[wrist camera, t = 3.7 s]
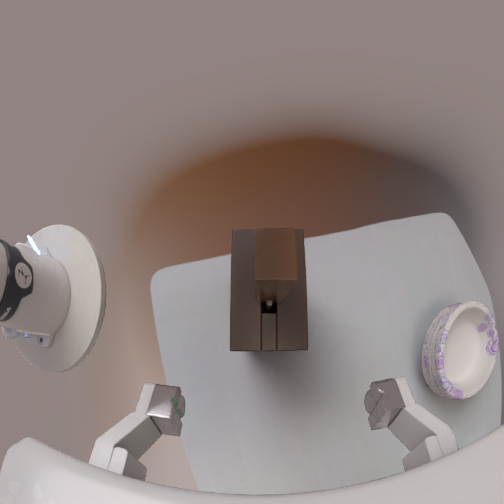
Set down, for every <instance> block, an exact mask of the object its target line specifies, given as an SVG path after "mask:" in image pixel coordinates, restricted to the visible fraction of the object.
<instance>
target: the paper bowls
mask: <svg viewBox="0 0 504 504" xmlns="http://www.w3.org/2000/svg"><path fill="white" fill-rule="evenodd" d="M497 353H498V333H497V327H496V323H495V320H494V318H493V316H492V314H491V312H490V311H489V310H488V309H487V308H486V307H485V306H484V305H483V304H481V303H479V302H476V301H468V302H464V303H459V304H456V305H452V306H449V307H447V308H445V309H443V310H442V311H441V312H440V313H439V314H438V315H437V316H436V317H435V319H434V320H433V321H432V323H431V325H430V326H429V328H428V331H427V334H426V337H425V340H424V343H423V348H422V371H423V376H424V379H425V381H426V383H427V385H428V386H429V388H430V389H431V390H432V391H433V392H434V393H436V394H437V395H440V396H444V397H448V398H453V399H458V400H462V399H467V398H469V397H471V396H473V395H475V394H476V393H477V392H479V391H480V390H481V389H482V387H483V386H484V385H485V384H486V382H487V381H488V379H489V377H490V375H491V373H492V371H493V368H494V365H495V362H496V358H497Z"/></svg>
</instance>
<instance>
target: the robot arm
mask: <svg viewBox="0 0 504 504" xmlns="http://www.w3.org/2000/svg"><path fill="white" fill-rule="evenodd" d="M27 237H28V239H29V241H30V243H31V244H32V246H33V247H30V246H27V245H25V244H22V243H17V244H16V245H14V246H13V245H11V243H9V242H7V241H3V240H1V239H0V326H1V327H2V330H3V332H4V337H7V338H10V339H13V340H17V341H20V342H24V343H28V344H32V345H36V346H40V347H45V348H50V347H51V346H52V344H53V341H54V337H55V334H56V332H57V331H58V329H59V328H60V327H61V325H62V324H63V322H64V320H65V318H66V316H67V313H68V310H69V305H70V297H71V289H70V281H69V277H68V274H67V271H66V269H65V268H64V266H63V265H62V263H61V262H59V261H58V260H57V259H55V258H54V257H52V255H51V253H50V251H49V250H48V248H47V247H44V246H42V247H40V248H37V247H36V245H35V243H34V242H33V240H32V238H31V237H30V236H27ZM42 339H43V341H42ZM364 404H365V409H366V411H367V412H368V413H370V415H369V417H368V420H369V424H370V428H371V430H376V429H381V428H386V427H388V429H389V430H390V431H391V432H392V433H393V434H394V435H395V436H396V437H397V438H398V439H399V440H400V441H401V442H402V443H403V444H404V445H405V446H406V447H407V448H408V449H409V450H410V451H411V452H410V453H409V454H408V455H406V456H405V457H404V458H403V460H402V461H403V465H404V469H405V471H404V472H401V473H398V474H395V475H391V476H388V477H384V478H381V479H377V480H373V481H369V482H365V483H360V484H356V485H351V486H346V487H340V488H334V489H328V490H321V491H313V492H303V493H291V494H270V495H246V494H225V493H213V492H203V491H195V490H188V489H181V488H176V487H170V486H165V485H160V484H155V483H151V482H147V481H145V477H146V472H147V469H146V467H145V466H144V465H143V464H142V463H140V462H139V461H138V459H139V458H140V457H141V456H142V455H143V454H144V453H145V452H146V451H147V450H148V449H149V448H150V447H151V446H152V445H153V444H154V443H155V442H156V441H157V439H159V438H160V436H161V435H162V434H166V435H173V436H180V434H181V429H182V422H181V420H180V419H181V418H182V417H183V416H184V414H185V399H184V397H183V396H182V395H181V389H180V387H175V386H167V385H159V384H153V383H145V384H144V386H143V388H142V391H141V394H140V397H139V400H138V403H137V406H136V409H135V413H133V412H131V413H130V414H129V415H127V416H126V417H125V418H124V419H122V420H121V421H120V422H118V423H117V424H116V425H115V426H114V427H112V428H111V429H110V430H108V431H107V432H106V433H104V434H103V435H102V436H100V437H99V438H98V439H97V440H96V443H95V446H94V449H93V452H92V455H91V457H90V461H89V463H86V462H84V461H81V460H79V459H76V458H74V457H72V456H70V455H67V454H65V453H63V452H60V451H59V450H56V449H54V448H52V447H50V446H48V445H46V444H44V443H42V442H40V441H39V440H37V439H35V438H32V437H27V438H25V439H23V440H21V441H19V442H17V443H16V444H14V445H12V446H11V447H10V448H9V449H8V451H7V453H6V456H5V458H4V461H3V464H2V468H1V471H0V504H504V424H503V425H502V426H500V427H498V428H497V429H495V430H493V431H492V432H490V433H488V434H487V435H485V436H483V437H482V438H480V439H478V440H476V441H474V442H472V443H470V444H469V445H467V446H465V447H463V448H461V449H459V448H458V445H457V442H456V440H455V437H454V434H453V432H452V429H451V427H449V426H448V425H447V424H445V423H444V422H442V421H441V420H440V419H438V418H437V417H436V416H434V415H433V414H432V413H430V412H429V411H428V410H426V409H425V408H424V407H422V406H421V405H420V404H416V403H415V401H414V398H413V396H412V394H411V391H410V389H409V386H408V384H407V382H406V379H405V378H404V377H396V378H390V379H385V380H380V381H375V382H372V383H371V385H370V390H369V391H367V393H366V395H365V399H364Z"/></svg>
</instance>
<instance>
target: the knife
mask: <svg viewBox="0 0 504 504" xmlns="http://www.w3.org/2000/svg"><path fill="white" fill-rule="evenodd" d="M297 280H298V266H297V245H296V229H294V228H255V292H256V302H264V313H269V311H270V309H271V306H272V302H283V301H284V299H285V298H286V296H287V295H288V294H289V292H290V291H291V289H292V288H293V286H294V285H295V283H296V282H297Z"/></svg>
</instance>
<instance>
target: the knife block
mask: <svg viewBox="0 0 504 504" xmlns="http://www.w3.org/2000/svg"><path fill="white" fill-rule="evenodd" d="M296 245H297V266H298V280H297V282H296V283H295V285H294V286H293V288H292V289H291V291H290V292H289V294H288V295H287V296H286V298H285V299H284V301H283V302H272V306H271V309H270V311H269V313H264V302H256V292H255V229H233V230H232V256H231V308H230V351H261V350H262V351H295V350H308V322H307V289H306V267H305V249H304V233H303V229H296Z"/></svg>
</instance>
